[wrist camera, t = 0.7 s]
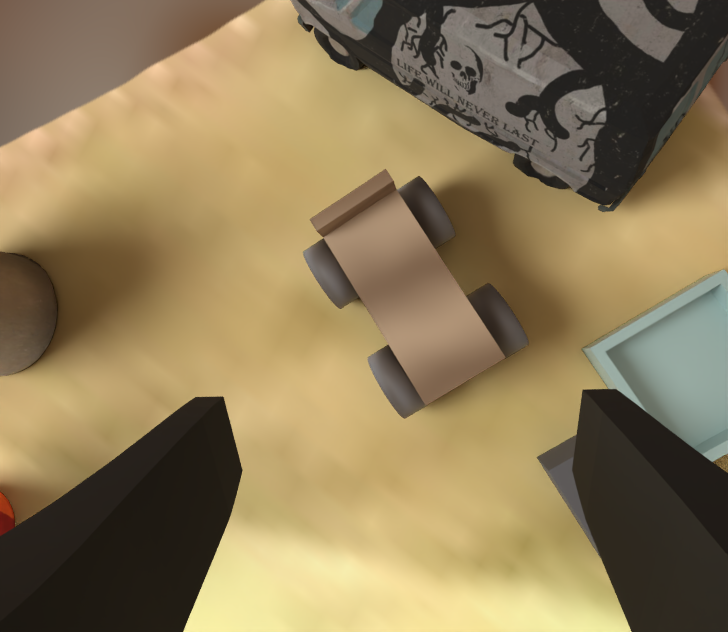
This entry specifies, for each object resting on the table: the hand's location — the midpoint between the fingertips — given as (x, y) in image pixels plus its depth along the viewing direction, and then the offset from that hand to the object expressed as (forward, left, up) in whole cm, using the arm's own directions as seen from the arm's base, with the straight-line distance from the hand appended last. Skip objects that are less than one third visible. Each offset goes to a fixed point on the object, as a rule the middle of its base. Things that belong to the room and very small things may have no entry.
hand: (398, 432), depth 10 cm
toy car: (+16, -14, -23) cm, 32 cm away
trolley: (+5, -2, -23) cm, 24 cm away
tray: (-7, -13, -23) cm, 27 cm away
